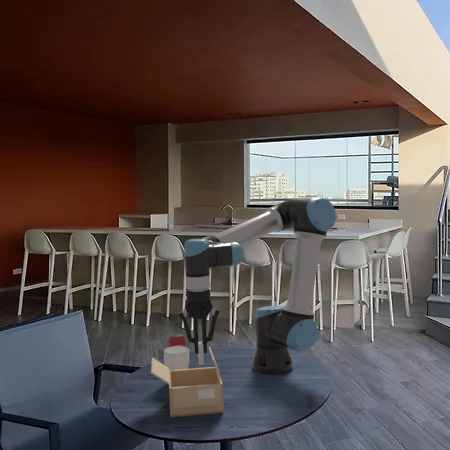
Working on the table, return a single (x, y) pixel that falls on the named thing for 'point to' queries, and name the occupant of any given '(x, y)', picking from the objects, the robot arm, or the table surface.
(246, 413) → the table surface
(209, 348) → the flap
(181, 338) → the beer can
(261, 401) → the table surface
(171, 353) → the cup
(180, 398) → the carton
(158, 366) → the flap
